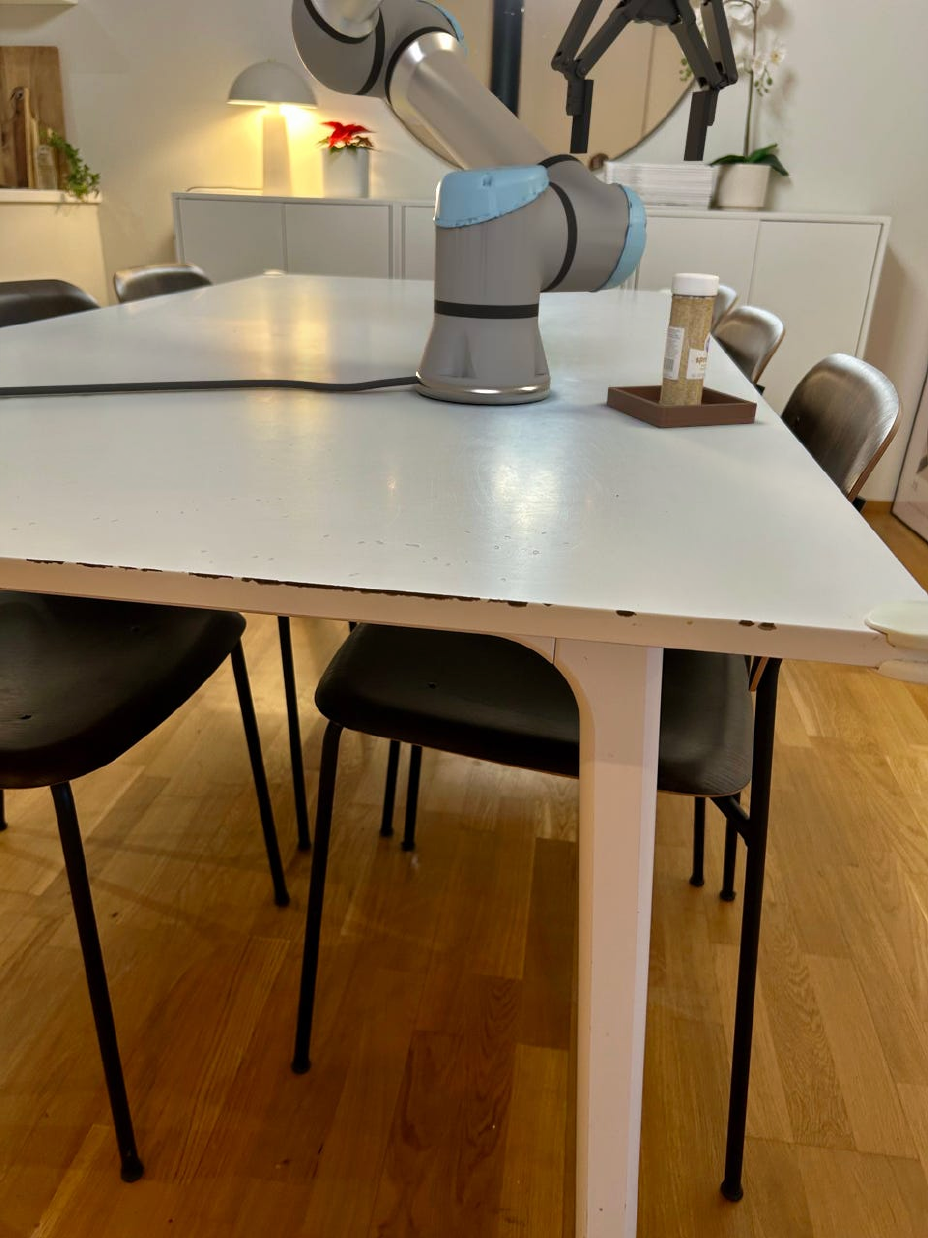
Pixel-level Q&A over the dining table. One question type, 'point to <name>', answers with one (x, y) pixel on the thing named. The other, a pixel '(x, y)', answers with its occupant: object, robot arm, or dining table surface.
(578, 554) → the dining table surface
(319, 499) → the dining table surface
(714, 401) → the serving tray
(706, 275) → the spice jar
